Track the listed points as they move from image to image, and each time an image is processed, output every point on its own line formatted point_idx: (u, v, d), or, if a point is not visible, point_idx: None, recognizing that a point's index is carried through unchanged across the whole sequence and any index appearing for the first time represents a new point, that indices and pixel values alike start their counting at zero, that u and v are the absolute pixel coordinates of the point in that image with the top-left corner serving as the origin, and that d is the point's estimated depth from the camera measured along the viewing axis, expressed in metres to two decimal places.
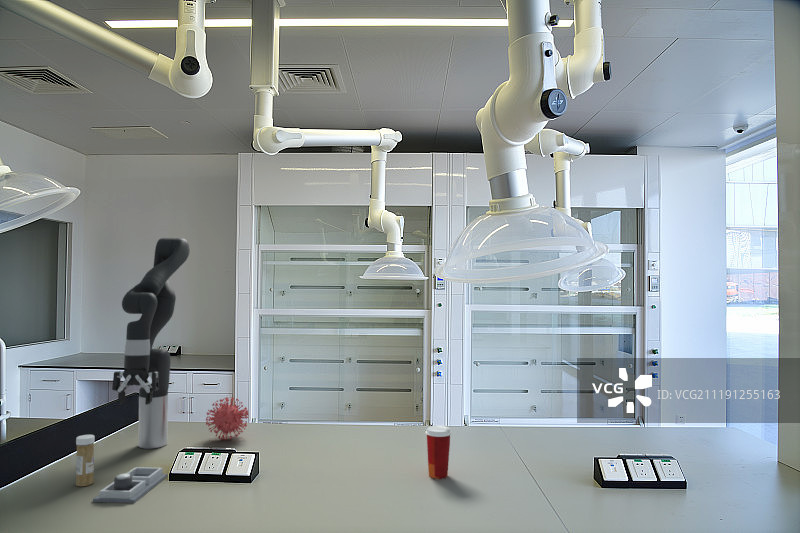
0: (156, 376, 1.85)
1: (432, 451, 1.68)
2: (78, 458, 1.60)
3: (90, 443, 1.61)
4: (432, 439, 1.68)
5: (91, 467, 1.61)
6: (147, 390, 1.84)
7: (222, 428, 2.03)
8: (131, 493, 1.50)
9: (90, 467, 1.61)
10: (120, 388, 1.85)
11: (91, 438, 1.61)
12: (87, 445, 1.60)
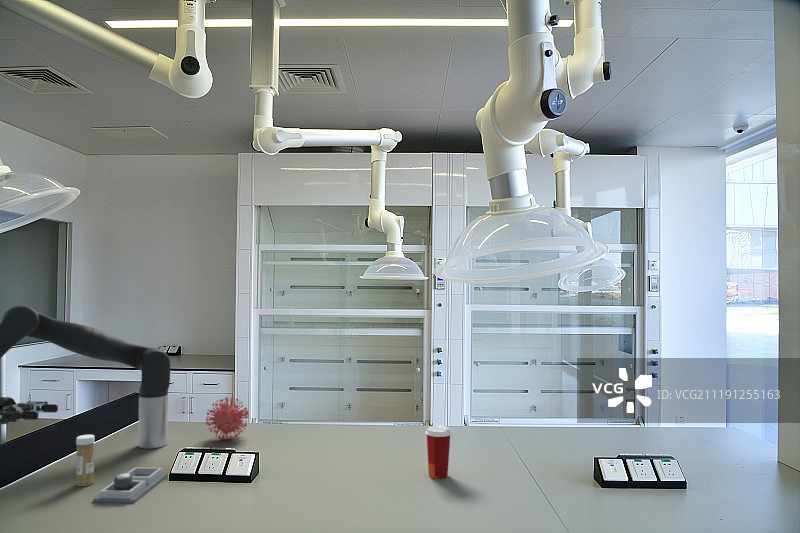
0: None
1: (432, 451, 1.68)
2: (78, 458, 1.60)
3: (90, 443, 1.61)
4: (432, 439, 1.68)
5: (91, 467, 1.61)
6: None
7: (222, 428, 2.03)
8: (131, 493, 1.50)
9: (90, 467, 1.61)
10: None
11: (91, 438, 1.61)
12: (87, 445, 1.60)
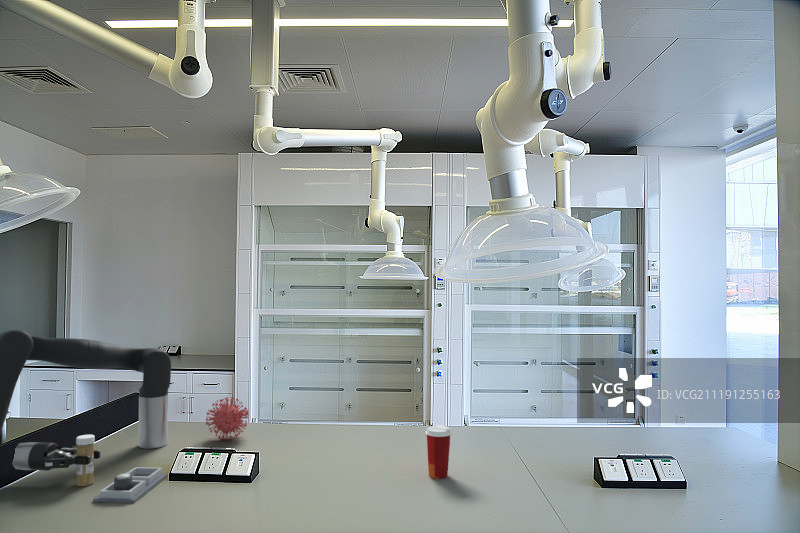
0: (50, 467, 1.55)
1: (432, 451, 1.68)
2: None
3: (90, 443, 1.61)
4: (432, 439, 1.68)
5: (91, 467, 1.61)
6: None
7: (222, 428, 2.03)
8: (131, 493, 1.50)
9: (90, 467, 1.61)
10: None
11: (91, 438, 1.61)
12: (87, 445, 1.60)
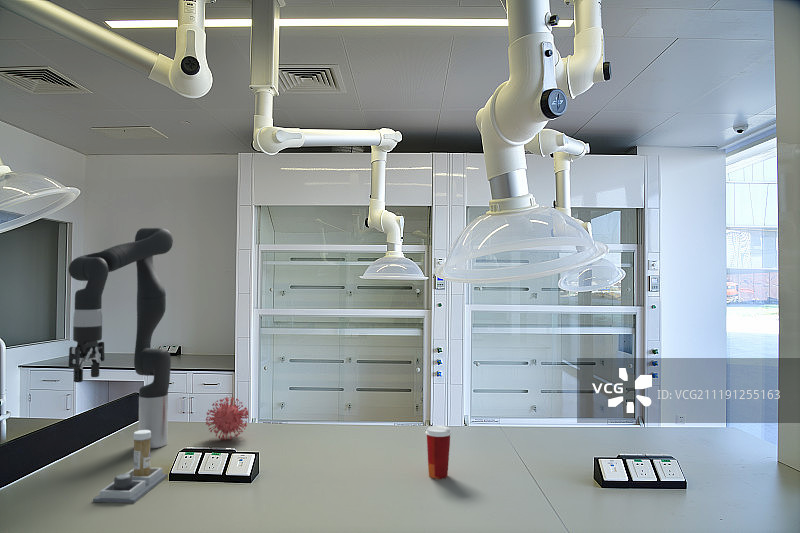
0: (70, 352, 1.62)
1: (432, 451, 1.68)
2: (136, 453, 1.62)
3: (147, 438, 1.63)
4: (432, 439, 1.68)
5: (148, 462, 1.64)
6: None
7: (222, 428, 2.03)
8: (131, 493, 1.50)
9: (147, 462, 1.63)
10: None
11: (148, 433, 1.63)
12: (145, 440, 1.63)
